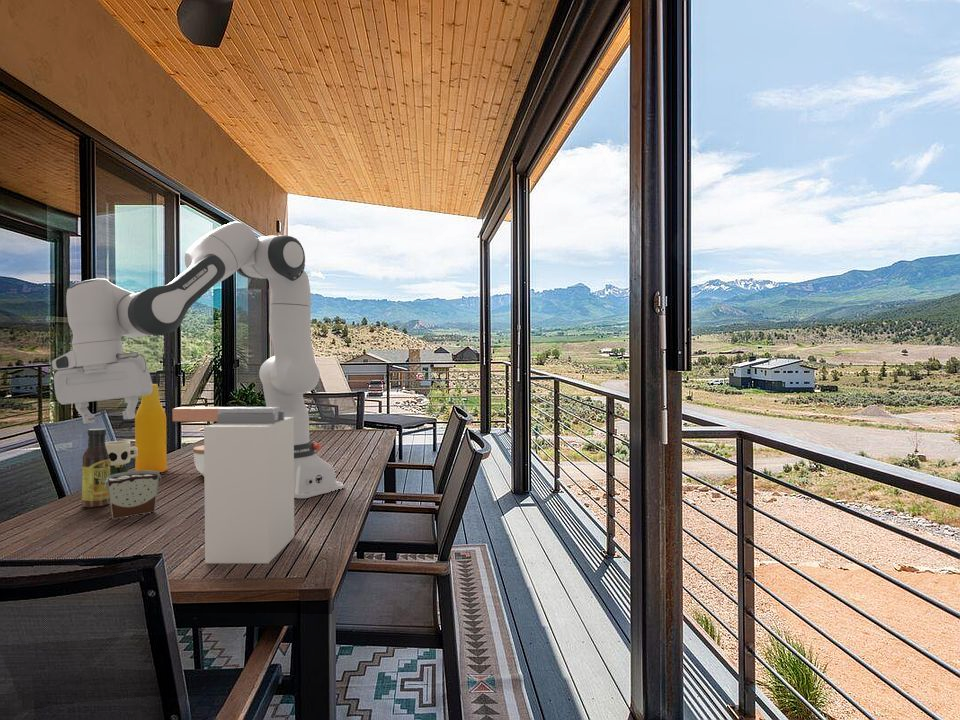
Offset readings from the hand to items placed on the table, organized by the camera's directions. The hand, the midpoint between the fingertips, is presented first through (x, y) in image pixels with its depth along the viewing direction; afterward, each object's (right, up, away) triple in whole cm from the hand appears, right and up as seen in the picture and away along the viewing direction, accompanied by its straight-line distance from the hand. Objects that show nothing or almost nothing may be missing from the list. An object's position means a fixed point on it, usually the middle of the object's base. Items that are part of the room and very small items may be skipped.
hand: (109, 421), depth 128 cm
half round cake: (-8, -25, +22) cm, 34 cm away
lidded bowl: (-7, -24, +68) cm, 72 cm away
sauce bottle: (-22, -25, +30) cm, 44 cm away
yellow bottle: (-31, -24, +73) cm, 83 cm away
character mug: (-29, -25, +52) cm, 64 cm away
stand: (+32, -26, -5) cm, 41 cm away
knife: (+27, +1, -6) cm, 28 cm away
